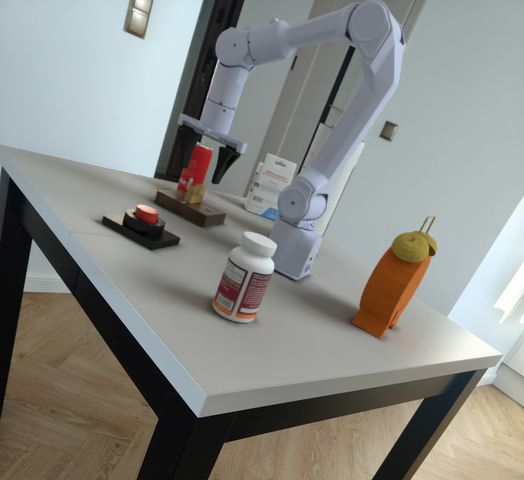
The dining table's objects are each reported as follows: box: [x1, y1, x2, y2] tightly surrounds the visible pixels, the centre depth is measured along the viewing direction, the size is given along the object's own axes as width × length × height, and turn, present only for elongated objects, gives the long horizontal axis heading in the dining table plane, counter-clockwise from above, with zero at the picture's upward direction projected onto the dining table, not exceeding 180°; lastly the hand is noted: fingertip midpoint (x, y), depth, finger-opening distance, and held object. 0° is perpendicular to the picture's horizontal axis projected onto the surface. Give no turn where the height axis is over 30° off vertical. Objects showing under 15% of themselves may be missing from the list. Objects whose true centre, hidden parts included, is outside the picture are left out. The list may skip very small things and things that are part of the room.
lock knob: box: [184, 183, 208, 204], centre depth 104 cm, size 5×1×4 cm, turn 156°
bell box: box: [101, 208, 181, 251], centre depth 83 cm, size 10×8×3 cm
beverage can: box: [176, 141, 214, 193], centre depth 113 cm, size 5×5×12 cm
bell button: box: [134, 204, 160, 223], centre depth 82 cm, size 4×4×2 cm
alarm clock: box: [351, 215, 438, 339], centre depth 84 cm, size 13×6×20 cm, turn 150°
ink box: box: [243, 152, 298, 221], centre depth 128 cm, size 8×5×15 cm, turn 99°
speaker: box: [299, 122, 366, 238], centre depth 110 cm, size 11×10×26 cm
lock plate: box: [153, 189, 227, 228], centre depth 105 cm, size 12×9×3 cm
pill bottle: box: [212, 231, 277, 324], centre depth 68 cm, size 6×6×11 cm
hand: (198, 175), depth 100 cm, fingers open, 7 cm apart
